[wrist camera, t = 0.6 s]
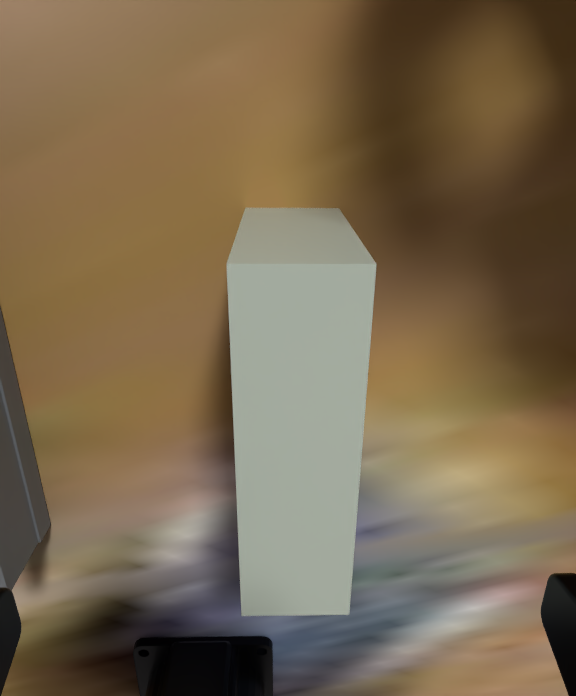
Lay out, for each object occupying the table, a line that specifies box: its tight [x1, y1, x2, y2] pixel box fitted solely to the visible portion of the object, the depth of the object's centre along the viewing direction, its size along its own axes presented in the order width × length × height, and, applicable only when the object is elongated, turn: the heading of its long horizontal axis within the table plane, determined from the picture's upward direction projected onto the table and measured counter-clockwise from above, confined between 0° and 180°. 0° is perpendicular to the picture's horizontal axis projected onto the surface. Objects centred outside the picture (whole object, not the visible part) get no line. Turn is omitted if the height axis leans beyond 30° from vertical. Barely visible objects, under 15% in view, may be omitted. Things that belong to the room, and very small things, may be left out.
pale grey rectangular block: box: [227, 208, 376, 616], centre depth 16 cm, size 10×3×7 cm, turn 0°
